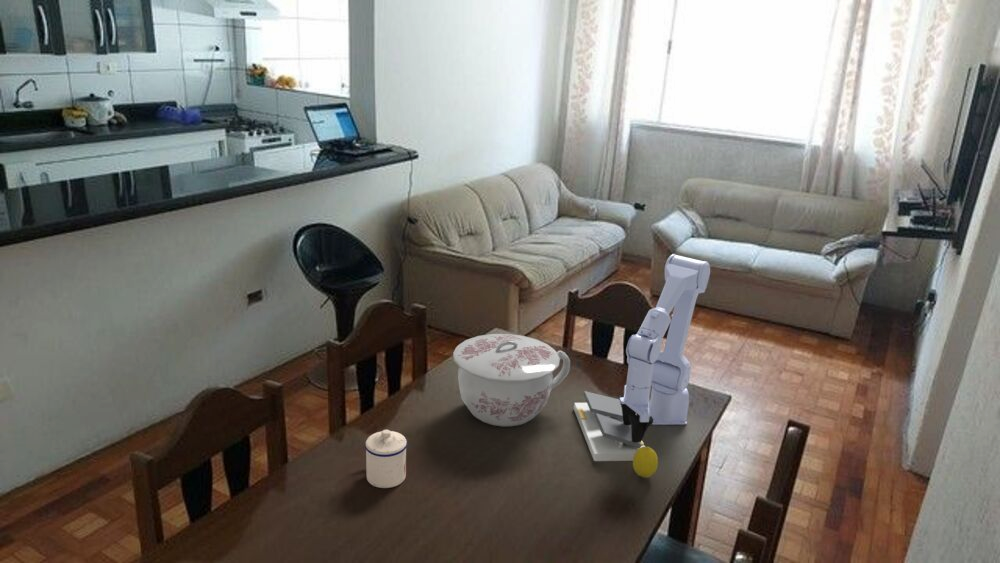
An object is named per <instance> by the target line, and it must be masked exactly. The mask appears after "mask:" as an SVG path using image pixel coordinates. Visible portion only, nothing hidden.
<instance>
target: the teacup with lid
mask: <svg viewBox="0 0 1000 563" xmlns="http://www.w3.org/2000/svg"><path fill="white" fill-rule="evenodd" d="M364 448H365V455H366V456H365V457H366V458H365V464H366V468H365V469H366V480H367V482H368V483H369V484H370V485H372V486H373V487H376V488H379V489H380V488H381V489H389V488H394V487H397V486H399V485H401V484H402V483H403V482H404V481H405V479H406V476H407V448H408V440H407V439H406V437H405V436H404V435H403V434H402V433H400V432H398V431H394V430H389V429H383V430H382V431H377V432H375V433H373V434H371V435H369V436H368V437H367V439H366V441H365V444H364Z"/></svg>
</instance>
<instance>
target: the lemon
mask: <svg viewBox="0 0 1000 563" xmlns="http://www.w3.org/2000/svg"><path fill="white" fill-rule="evenodd" d="M658 464H659V459H658V455H657V452H656V451H655V450H654V449H653V448H652V447H650V446H645V447H641V448H639V449H638V450H637V451H636V453H635V455H634V458H633V461H632V467H633V470H634V472H635V473H636V474H637V475H638V476H639V477H641V478H650V477H651V476H653V475H654V474H655V473H656V471H657V469H658Z"/></svg>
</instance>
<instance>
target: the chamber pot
mask: <svg viewBox="0 0 1000 563" xmlns="http://www.w3.org/2000/svg"><path fill="white" fill-rule="evenodd" d="M452 356H453V357H452V358H453V361H454V363H456V365H457V366H458V370H457V381H458V387H459V393H460V398H461V400H462V402H463V403H464V405H465V406H466V408H467V410H468V411H470V413H471V415H473V417H475V418H476V419H477V420H479V421H480V422H482V423H485V424H488V425H491V426H494V427H495V426H497V427H515V426H521V425H524V424H526V423H528V422H530V421H532V420H533V419H534V418H535V417H536V416H537V415H538V414H539V413H540V412H541V411H542V410H543V408H544V407H545V406H546V405H547V404H548V400H549V397H550V394H551V391H552V390H553V389H554V388H556V387H557V386H558V385H560V384H562V382H563V381H564V380H565V378H566V377H567V376H569V372H570V370H571V360H570V358H569V355H567V354H566V352H565V351H562V350H557V351H556V350H555V348H553V347H552V346H550V345H549V344H547V343H545V342H543V341H541V340H539V339H537V338H533V337H529V336H525V335H520V334H512V333H490V334H483V335H477V336H474V337H471V338H468V339H465V340H464V341H463V342H461V343H459V344H458V345H457V346H456V347H455V349H454V351H453V353H452ZM561 360H562V361H563V362H562V366H561V370H560V371H559V372H558V373H557V375H556V376H555V377H554V375H553V373H554V371H556V370H557V369H558V368H559V367H560V362H561Z"/></svg>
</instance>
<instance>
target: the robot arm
mask: <svg viewBox="0 0 1000 563" xmlns="http://www.w3.org/2000/svg"><path fill="white" fill-rule="evenodd" d="M710 275H711V265H710V263H709V262H708V261H706V260H704V261H703V260H700V259H696V258H695V259H694V258H691V257H686V256H683V255H677V253H676V254H675V253H672V254H671V255H669V257H667V259H666V261H665V265H664V280H665V283H664V285H663V288H662V291H661V294H660V296H659V299H658V301H657V303H656V305H655V307H653V308H651V309H649V310H648V312H647V313H646V316H645V317H644V319H643V321H642V323H641V326H640V327H639V329H638V331H637V333H636V334H632V335H631V336H630V337H629V339H628V341H627V345H626V349H625V354H626V356H627V358H626V363H627V364H628V368H627V369H628V370H627V376H626V384H625V385H624V387H623V388H624V389H623V395H619V396H618V398H617V399H619V401H620V404H621V408H622V415H623V423H624V425H631V436H632V441H633V442H641V441H643V438H644V437H645V434H646V432H647V430H648V429H649V427H651V425H653V426H655V425H658V426H659V425H661V426H664V425H668V426H670V425H673V426H674V425H687V424H688V422H687V418H688V411H689V404H690V395H689V394H690V393H689V390H688V388H687V387H688V384H689V382H690V378H691V374H690V373H691V366H692V365H691V363H690V361H689V360H688V359H687V358H686V356H685V355H684V350H685V346H686V341H687V338H688V334H689V330H690V327H691V322H692V320H693V315H694V311H695V306H696V301H697V299H698V296H699V294H704V293H705V292H706V290H707V287H708V284H709V280H710ZM672 310H673V312H672ZM671 312H672V316H670V314H671ZM667 331H668V332H667ZM666 332H667V335H666V340H665V344H664V348H663V350H661V349H662V346H663V338H664V336H665V334H666Z"/></svg>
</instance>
